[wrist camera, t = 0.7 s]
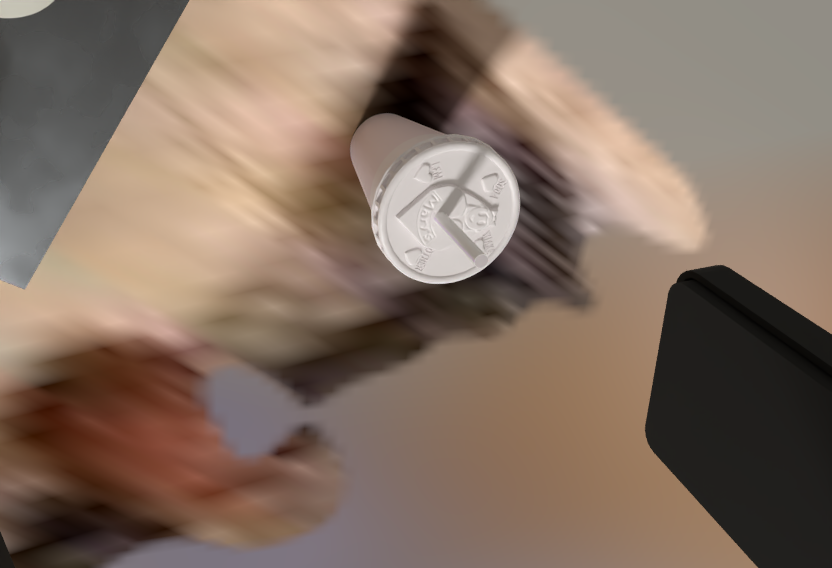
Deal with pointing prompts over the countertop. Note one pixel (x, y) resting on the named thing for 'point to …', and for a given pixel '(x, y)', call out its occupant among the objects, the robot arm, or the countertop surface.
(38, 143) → the housing
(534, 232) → the countertop surface
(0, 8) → the knob
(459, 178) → the smoothie
